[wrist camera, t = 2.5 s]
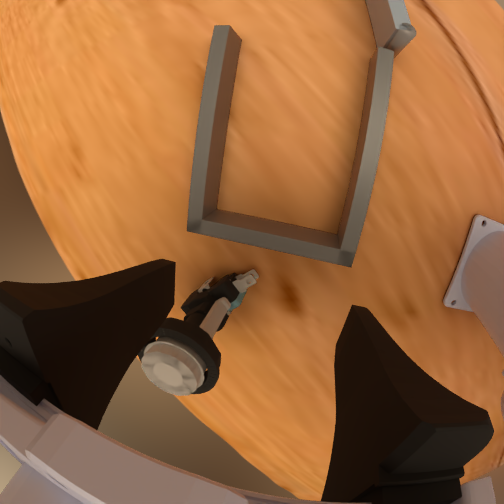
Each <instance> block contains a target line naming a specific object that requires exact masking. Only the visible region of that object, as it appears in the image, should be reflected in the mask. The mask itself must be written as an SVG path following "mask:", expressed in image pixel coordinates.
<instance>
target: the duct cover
mask: <svg viewBox="0 0 504 504" xmlns="http://www.w3.org/2000/svg"><path fill="white" fill-rule="evenodd" d="M365 1H366V5H367V8H368V12H369V16H370V20H371V24H372V28H373V32H374V36H375V41H376V45H377V48H378V46H379V47H382V48H386V49H389V50H392V51H394V58H395V57H396V56H397V55H398V54H399V53H400V52H401V51H402V50H403V49H404V47H405V46H406V45H407V44H408V43H409V42H410V41H411V40H412V39H413V38H414V37H415V36H416V30H415V28H414V27H413V26H412V25H411V23H410V19H409V16H408V12H407V9H406V6H405V3H404V0H365Z"/></svg>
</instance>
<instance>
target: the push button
mask: <svg viewBox="0 0 504 504" xmlns="http://www.w3.org/2000/svg"><path fill="white" fill-rule="evenodd" d="M249 274H250V275H249ZM251 274H253V275H254V277H253V275H251ZM213 278H214V277H212V278H210V279H209V280H207V281H205V282H204V283H203V284H202V286H201V287H200V288H199V289H198V290H196V291H194V292H193V293H192V294H191V295H190V296H189V297H188V299H187V300H186V301H185V302H184V304H183V305H182V306H181V309H182V310H183V311H184V312H185V313H186V316H185V317H184V321H183V320H179V319H175V318H166V319H165V321H164V322H163V323H162V325H161V326H160V327H159V329H158V330H157V331H156V332H155V334H154V335H153V336H152V337H151V339H150V340H149V341H148V342H147V343H146V345H145V346H144V347H143V348H142V350H141V351H140V352H139V353H138V356H139V359H140V361H141V363H142V368H143V371H144V372H145V374H146V376H147V377H148V378H149V380H150V381H151V382H152V383H154V384H155V385H156V386H158V387H159V388H161V389H162V390H164V391H166V392H168V393H171V394H174V395H178V396H181V395H190V394H201V393H205V392H207V391H209V390H211V389H212V388H213V387H214V386H215V384H216V382H217V380H218V378H219V367H220V363H221V353H220V352H219V350H218V348H217V347H216V345H215V343H214V342H213V340H212V339H213V337H214V335H215V333H216V332H218V331H219V330H221V329H222V328H223V327H224V325H225V323H226V321H227V319H228V317H229V316H228V315H229V314H231V312H232V310H233V309H235V308H237V307H238V306H239V305H240V304H241V303H242V300H243V298H244V296H245V294H246V291H247V289H246V288H248V287H250V286H252V285H254V284H255V283H256V282H257V281H256V280H255V279H257V278H259V275H258V274H257V272H256V271H255V270H254V269H252V270H250V271H249V272H247V273H245V274H244V275H242V274H240V275H238V276H237V275H236V274H235V273H233V274H232V275H230V276H229V275H226V276H225V277H223V278H222V279H221V280H220V281H219V282H217V283H216V284H215V285H213V286H211V287H210V286H209V284H210V282H211V281H212V280H213ZM250 282H251V283H250ZM156 337H159V338H158V339H157V340H156ZM206 369H208V370H207V371H206Z"/></svg>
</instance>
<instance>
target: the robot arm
mask: <svg viewBox="0 0 504 504" xmlns="http://www.w3.org/2000/svg"><path fill="white" fill-rule="evenodd" d="M483 221H484V224H483V225H482V222H483ZM175 265H176V262H173V261H169V260H165V259H159V260H154V261H151V262H147V263H144V264H141V265H138V266H134V267H131V268H128V269H125V270H121V271H118V272H114V273H111V274H107V275H103V276H99V277H95V278H90V279H85V280H79V281H71V282H61V283H19V282H10V281H3V282H1V283H0V443H1V444H2V445H3V446H4V447H5V448H6V449H7V450H8V451H9V452H10V453H11V454H12V455H13V456H14V457H15V458H16V459H17V460H18V461H19V462H20V463H21V464H22V466H21V467H20V468H19V470H18V471H17V472H16V474H15V475H14V476H13V478H12V479H11V481H10V482H9V483H8V485H7V486H6V487H5V489H4V490H3V491H2V493H1V494H0V504H496V500H495V495H494V490H493V485H492V480H491V477H490V476H488V477H485V478H481V479H477V480H473V481H469V482H467V483H464V484H462V485H460V480H459V478H461V477H463V476H464V468H463V466H464V465H465V464H466V463H468V462H469V461H470V460H471V459H472V458H474V457H475V456H476V455H477V454H478V453H479V452H480V451H482V450H483V449H484V448H485V446H486V445H487V444H488V443H489V441H490V440H491V438H492V436H493V433H494V429H493V426H492V423H491V420H490V417H489V414H488V412H487V411H486V410H484V409H482V408H480V407H478V406H476V405H474V404H472V403H470V402H468V401H466V400H464V399H462V398H461V397H459V396H458V395H456V394H454V393H453V392H451V391H450V390H448V389H447V388H445V387H444V386H442V385H441V384H440V383H438V382H437V381H436V380H434V379H433V378H432V377H430V376H429V375H428V374H427V373H426V372H424V371H423V370H422V369H421V368H420V367H419V366H418V365H417V364H416V363H415V362H413V361H412V360H411V359H410V358H409V357H408V356H407V355H406V353H405V352H404V351H403V350H402V349H401V348H400V347H399V346H398V345H397V344H396V342H395V341H394V340H393V339H392V338H391V336H390V335H389V334H388V333H387V332H386V330H385V329H384V328H383V327H382V325H381V324H380V323H379V322H378V320H377V319H376V318H375V317H374V316H373V314H372V313H371V312H370V311H369V310H368V309H367V308H365V307H361V306H356V305H352V306H351V309H350V311H349V314H348V317H347V319H346V322H345V324H344V327H343V329H342V331H341V334H340V336H339V339H338V341H337V343H336V350H335V363H334V370H335V392H336V424H335V433H334V441H333V448H332V454H331V460H330V465H329V470H328V475H327V479H326V484H325V488H324V491H323V495H322V499H321V501H310V500H300V499H292V498H285V497H278V496H272V495H266V494H261V493H256V492H251V491H247V490H242V489H238V488H234V487H230V486H226V485H223V484H220V483H218V482H215V481H212V480H209V479H207V478H205V477H202V476H199V475H197V474H194V473H191V472H188V471H185V470H182V469H179V468H177V467H174V466H171V465H169V464H166V463H164V462H161V461H159V460H156V459H154V458H152V457H149V456H147V455H145V454H142V453H140V452H138V451H136V450H134V449H131V448H129V447H127V446H125V445H123V444H121V443H119V442H117V441H115V440H114V439H112V438H110V437H108V436H106V435H104V434H102V433H101V432H99V431H97V429H98V427H99V424H100V422H101V420H102V417H103V415H104V413H105V411H106V409H107V406H108V404H109V402H110V400H111V398H112V396H113V394H114V392H115V391H116V389H117V387H118V385H119V383H120V381H121V380H122V378H123V376H124V374H125V373H126V371H127V369H128V368H129V366H130V364H131V363H132V362H133V360H134V359H135V357H136V356H137V355H138V353H139V352H140V351H141V350H142V348H143V347H144V346H145V345H146V343H147V342H148V341H149V340H150V339H151V337H152V336H153V335H154V334H155V332H156V331H157V330H158V329H159V327H160V326H161V325H162V323H163V322H164V321H165V319H166V317H167V316H168V314H169V312H170V311H171V309H172V307H173V305H174V295H175ZM453 300H455V301H454V302H453V303H451V302H452V301H453ZM443 303H444V305H445V306H446V307H451V308H456V309H461V310H466V311H471V312H474V313H475V314H476V316H477V317H478V319H479V320H480V321H481V323H482V324H483V326H484V327H485V329H486V330H487V332H488V333H489V335H490V336H491V338H492V339H493V341H494V343H495V344H496V346H497V347H498V349H499V350H500V352H501V354H502V355H503V357H504V224H501V223H499V222H497V221H494V220H492V219H489V218H487V217H485V216H482V215H480V214H477V215H476V216H475V217H474V219H473V222H472V225H471V229H470V232H469V235H468V238H467V241H466V244H465V247H464V250H463V252H462V255H461V258H460V261H459V263H458V266H457V268H456V271H455V273H454V276H453V278H452V281H451V283H450V286H449V288H448V290H447V293H446V295H445V297H444V299H443ZM502 374H503V376H504V370H503V372H502ZM501 411H502V416H503V420H504V391H503V394H502V397H501Z"/></svg>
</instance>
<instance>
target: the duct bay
mask: <svg viewBox="0 0 504 504" xmlns="http://www.w3.org/2000/svg"><path fill="white" fill-rule="evenodd" d="M241 41H242V40H241V38H240V37H239V36H238V35H237V33H236V32H235V31H234V30H233V29H232V27H231V26H230V25H216V26H214V31H213V36H212V41H211V46H210V51H209V56H208V62H207V67H206V73H205V79H204V85H203V91H202V98H201V104H200V111H199V118H198V125H197V133H196V141H195V149H194V158H193V167H192V176H191V186H190V197H189V209H188V221H187V231H188V232H193V233H198V234H202V235H207V236H212V237H216V238H221V239H225V240H230V241H235V242H239V243H244V244H248V245H253V246H257V247H262V248H266V249H271V250H275V251H280V252H285V253H289V254H294V255H298V256H303V257H307V258H311V259H316V260H320V261H325V262H329V263H334V264H338V265H343V266H347V267H351V266H352V263H353V260H354V257H355V253H356V250H357V246H358V243H359V239H360V236H361V232H362V228H363V225H364V221H365V217H366V213H367V209H368V205H369V201H370V197H371V193H372V188H373V184H374V180H375V175H376V170H377V166H378V161H379V156H380V151H381V145H382V140H383V134H384V129H385V122H386V116H387V110H388V103H389V95H390V87H391V79H392V70H393V59H394V51H392V50H389V49H386V48H382V47H379V46H378V48H377V49H376V51H375V52H374V54H373V55H372V57H371V58H370V63H369V71H368V79H367V87H366V94H365V101H364V108H363V114H362V120H361V126H360V132H359V138H358V143H357V148H356V154H355V159H354V164H353V169H352V174H351V178H350V183H349V188H348V192H347V197H346V201H345V205H344V210H343V214H342V218H341V222H340V226H339V230H338V234H337V235H336V234H332V233H328V232H323V231H319V230H314V229H310V228H305V227H301V226H296V225H292V224H287V223H282V222H278V221H273V220H268V219H263V218H258V217H253V216H249V215H244V214H239V213H233V212H228V211H223V210H218V209H217V202H218V194H219V185H220V177H221V169H222V162H223V154H224V147H225V140H226V133H227V126H228V119H229V112H230V106H231V100H232V93H233V87H234V81H235V75H236V69H237V63H238V58H239V52H240V46H241Z"/></svg>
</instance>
